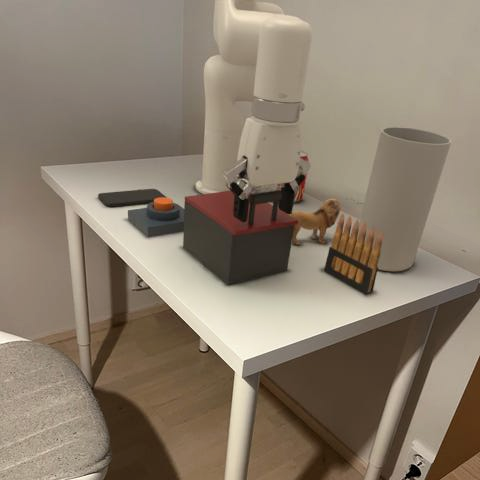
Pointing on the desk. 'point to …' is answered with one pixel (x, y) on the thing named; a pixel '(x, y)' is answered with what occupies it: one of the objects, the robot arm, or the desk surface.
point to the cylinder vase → (402, 192)
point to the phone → (130, 197)
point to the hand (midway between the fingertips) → (262, 215)
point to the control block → (157, 220)
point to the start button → (163, 204)
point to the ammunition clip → (354, 255)
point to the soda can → (300, 193)
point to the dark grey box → (235, 248)
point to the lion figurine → (317, 220)
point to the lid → (258, 211)
